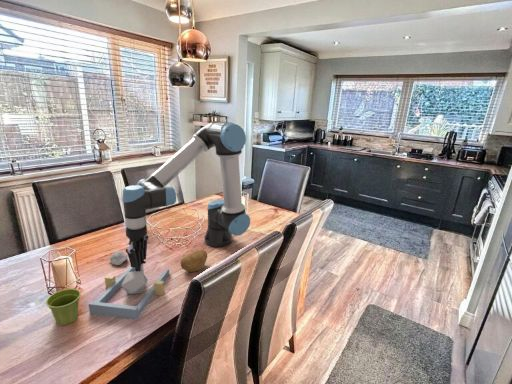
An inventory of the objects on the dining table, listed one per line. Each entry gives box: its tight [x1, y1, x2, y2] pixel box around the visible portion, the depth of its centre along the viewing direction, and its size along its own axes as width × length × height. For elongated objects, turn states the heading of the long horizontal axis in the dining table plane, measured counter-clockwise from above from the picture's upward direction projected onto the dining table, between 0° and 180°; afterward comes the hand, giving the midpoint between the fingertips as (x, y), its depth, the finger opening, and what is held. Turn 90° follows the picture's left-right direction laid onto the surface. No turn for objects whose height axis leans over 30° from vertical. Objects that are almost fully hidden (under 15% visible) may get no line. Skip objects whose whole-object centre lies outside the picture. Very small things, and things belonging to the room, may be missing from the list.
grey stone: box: [109, 250, 129, 266], centre depth 128 cm, size 9×8×5 cm
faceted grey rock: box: [120, 271, 148, 295], centre depth 108 cm, size 8×9×10 cm
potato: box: [180, 249, 208, 273], centre depth 125 cm, size 10×14×8 cm
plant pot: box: [45, 288, 82, 326], centre depth 92 cm, size 9×9×9 cm
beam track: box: [88, 265, 170, 320], centre depth 108 cm, size 23×28×5 cm
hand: (140, 278), depth 114 cm, fingers closed
